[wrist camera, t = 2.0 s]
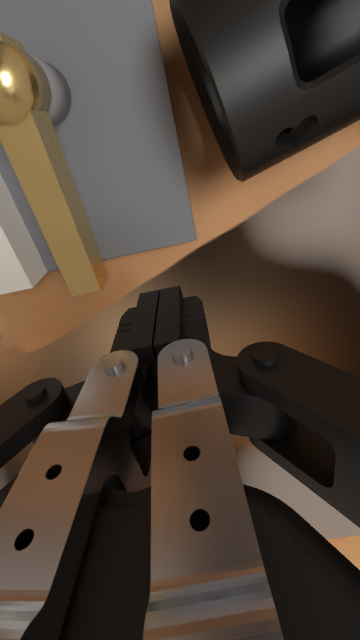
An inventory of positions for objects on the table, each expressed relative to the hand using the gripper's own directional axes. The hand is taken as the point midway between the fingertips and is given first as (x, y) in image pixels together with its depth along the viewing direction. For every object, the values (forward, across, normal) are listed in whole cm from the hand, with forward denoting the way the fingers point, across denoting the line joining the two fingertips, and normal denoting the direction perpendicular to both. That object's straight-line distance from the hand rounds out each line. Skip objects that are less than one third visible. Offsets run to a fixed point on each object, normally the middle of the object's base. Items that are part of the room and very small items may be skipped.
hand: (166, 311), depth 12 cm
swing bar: (+10, +6, -4) cm, 12 cm away
